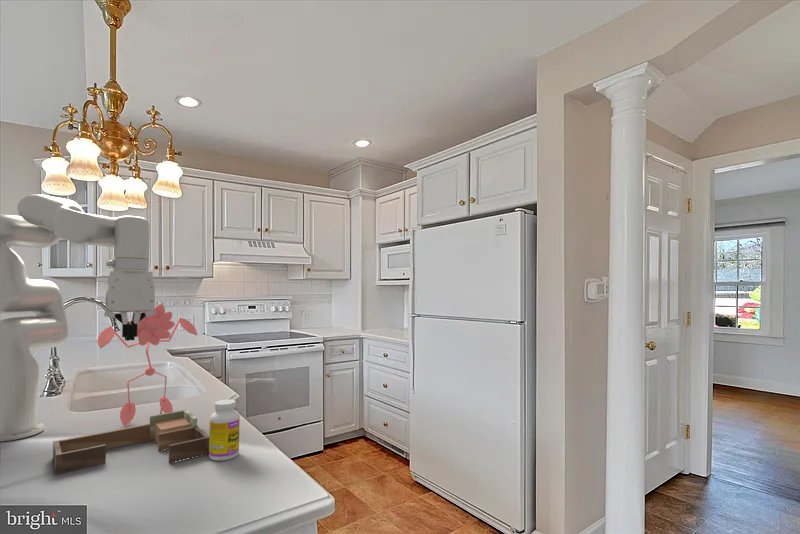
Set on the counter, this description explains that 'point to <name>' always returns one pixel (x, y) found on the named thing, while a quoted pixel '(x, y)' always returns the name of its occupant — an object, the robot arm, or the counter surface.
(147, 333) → the figurine
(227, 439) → the supplement bottle
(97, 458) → the box
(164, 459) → the counter surface
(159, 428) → the terracotta block
